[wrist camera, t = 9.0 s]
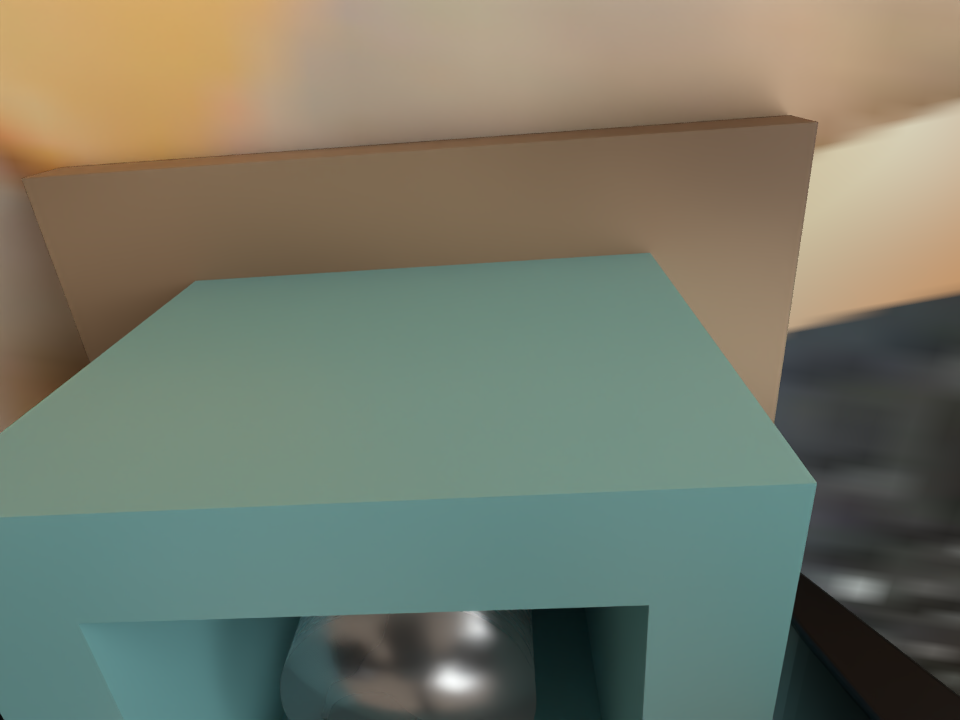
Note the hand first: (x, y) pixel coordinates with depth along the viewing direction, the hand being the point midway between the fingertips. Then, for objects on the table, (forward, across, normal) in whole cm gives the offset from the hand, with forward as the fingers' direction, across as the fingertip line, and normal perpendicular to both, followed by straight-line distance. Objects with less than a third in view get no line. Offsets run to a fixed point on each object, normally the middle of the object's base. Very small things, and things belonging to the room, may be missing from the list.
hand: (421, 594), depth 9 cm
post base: (+4, 0, 0) cm, 4 cm away
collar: (+3, 0, 0) cm, 3 cm away
